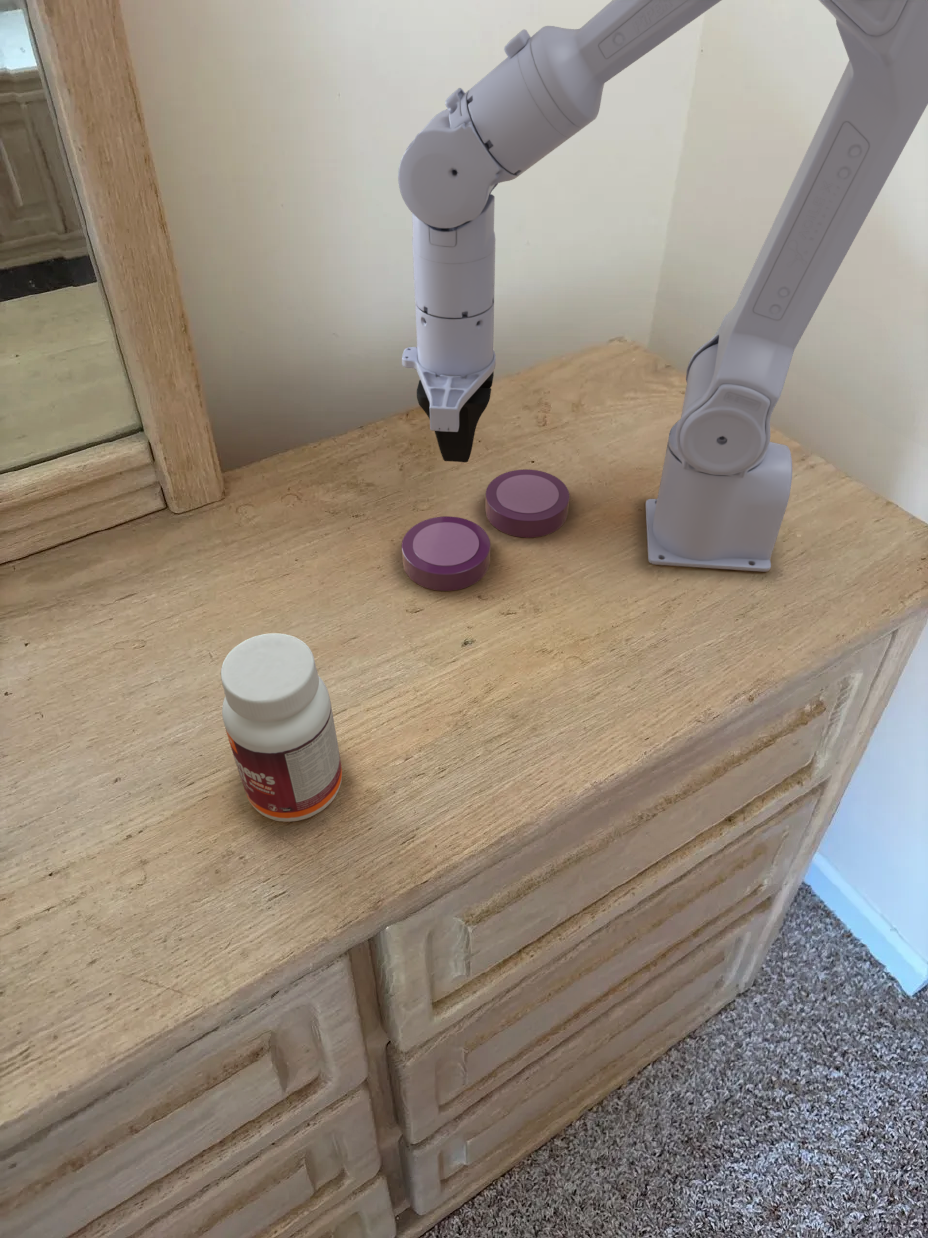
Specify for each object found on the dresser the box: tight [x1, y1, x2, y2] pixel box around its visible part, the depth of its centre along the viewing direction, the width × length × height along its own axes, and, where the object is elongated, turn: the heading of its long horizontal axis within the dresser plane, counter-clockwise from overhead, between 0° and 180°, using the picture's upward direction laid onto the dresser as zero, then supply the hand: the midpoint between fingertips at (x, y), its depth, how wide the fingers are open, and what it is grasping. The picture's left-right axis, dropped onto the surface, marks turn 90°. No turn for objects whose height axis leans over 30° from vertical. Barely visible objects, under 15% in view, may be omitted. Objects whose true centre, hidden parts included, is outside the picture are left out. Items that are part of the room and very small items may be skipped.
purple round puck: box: [484, 468, 571, 538], centre depth 76 cm, size 7×7×2 cm
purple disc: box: [401, 515, 491, 592], centre depth 72 cm, size 7×7×2 cm
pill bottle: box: [220, 632, 343, 823], centre depth 53 cm, size 6×6×11 cm
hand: (456, 456), depth 75 cm, fingers closed
